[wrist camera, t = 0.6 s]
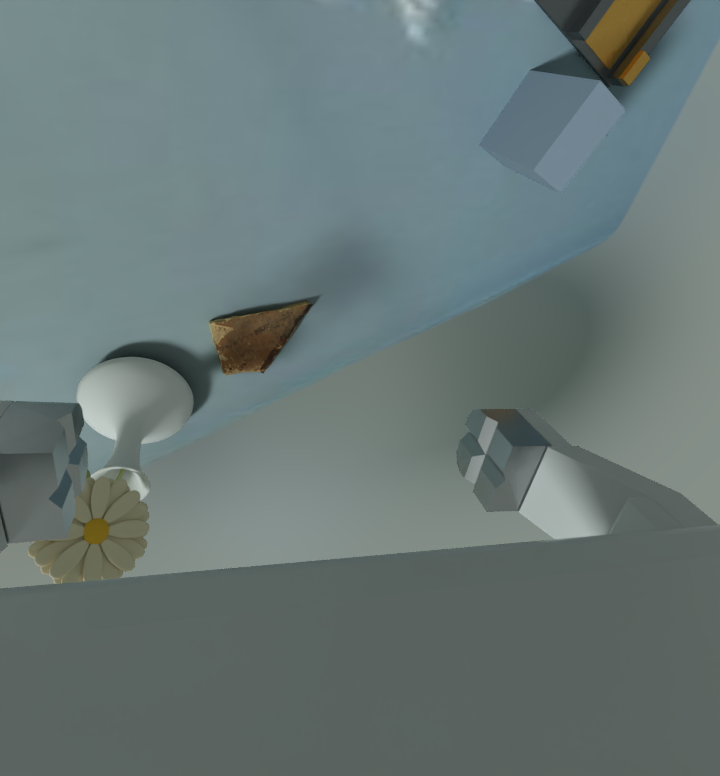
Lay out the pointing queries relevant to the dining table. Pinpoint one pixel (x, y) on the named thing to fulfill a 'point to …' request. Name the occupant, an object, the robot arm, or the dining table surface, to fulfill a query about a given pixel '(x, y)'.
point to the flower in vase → (116, 468)
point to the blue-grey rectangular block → (552, 127)
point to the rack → (614, 32)
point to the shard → (254, 337)
